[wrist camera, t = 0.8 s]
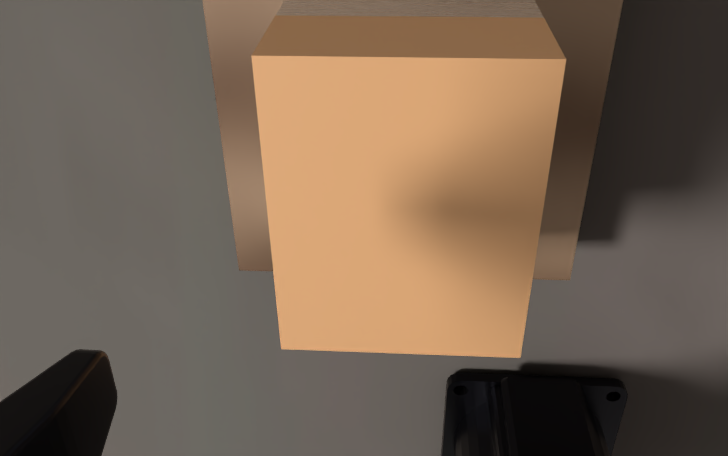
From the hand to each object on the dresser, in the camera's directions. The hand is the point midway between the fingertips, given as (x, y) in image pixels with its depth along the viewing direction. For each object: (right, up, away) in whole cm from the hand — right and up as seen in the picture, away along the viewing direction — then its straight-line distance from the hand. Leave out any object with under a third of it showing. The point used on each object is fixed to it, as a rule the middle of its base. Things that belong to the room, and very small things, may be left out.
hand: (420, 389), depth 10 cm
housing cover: (0, +4, +6) cm, 7 cm away
